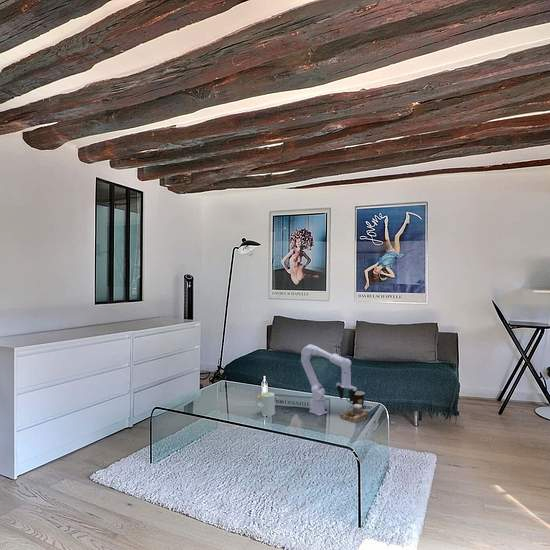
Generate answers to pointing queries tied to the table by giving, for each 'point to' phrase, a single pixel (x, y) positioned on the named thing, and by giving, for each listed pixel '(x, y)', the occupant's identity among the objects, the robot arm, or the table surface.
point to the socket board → (354, 416)
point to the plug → (357, 409)
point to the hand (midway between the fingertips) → (346, 399)
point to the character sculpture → (267, 403)
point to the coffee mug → (358, 398)
